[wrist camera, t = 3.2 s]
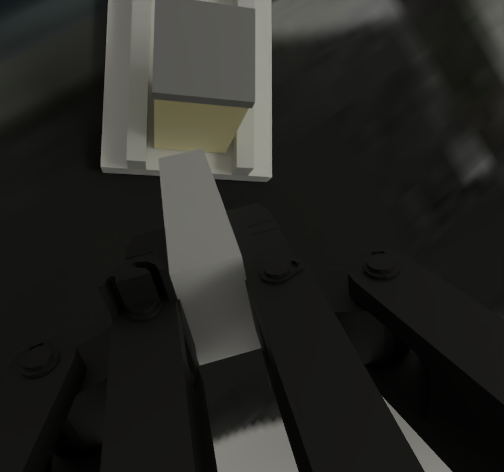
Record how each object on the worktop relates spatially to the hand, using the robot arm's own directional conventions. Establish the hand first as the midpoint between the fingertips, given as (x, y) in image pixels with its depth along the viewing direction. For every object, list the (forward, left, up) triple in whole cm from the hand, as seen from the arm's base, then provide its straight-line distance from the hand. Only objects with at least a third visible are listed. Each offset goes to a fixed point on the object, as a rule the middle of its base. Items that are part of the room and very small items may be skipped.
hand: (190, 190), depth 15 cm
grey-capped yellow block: (+1, +9, -15) cm, 18 cm away
